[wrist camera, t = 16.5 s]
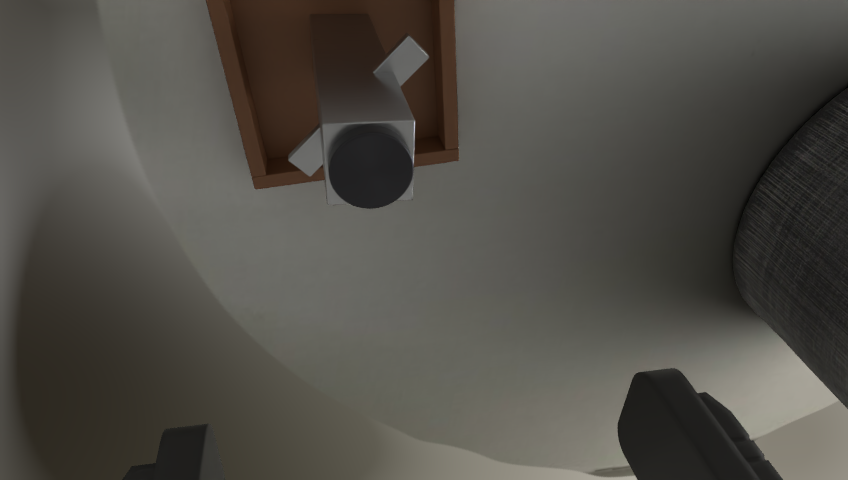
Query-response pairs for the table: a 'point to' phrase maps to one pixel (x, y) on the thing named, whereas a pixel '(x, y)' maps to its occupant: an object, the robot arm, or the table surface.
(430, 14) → the tray
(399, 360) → the table surface
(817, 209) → the planter
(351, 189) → the grey square bar
